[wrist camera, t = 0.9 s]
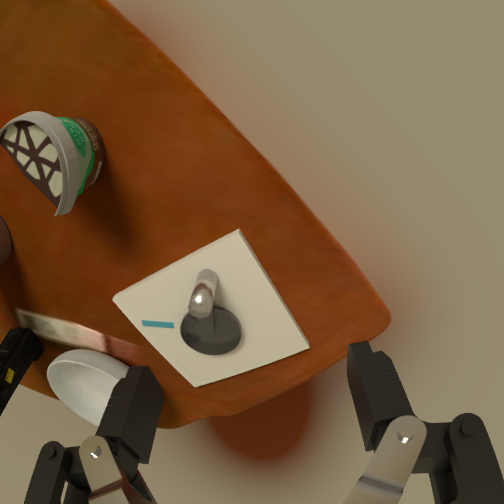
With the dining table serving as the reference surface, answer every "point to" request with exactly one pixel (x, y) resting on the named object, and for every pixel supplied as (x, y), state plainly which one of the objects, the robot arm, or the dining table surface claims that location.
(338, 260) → the dining table surface
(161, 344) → the dial plate
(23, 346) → the portable radio
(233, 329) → the dial
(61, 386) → the serving bowl
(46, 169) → the food container
